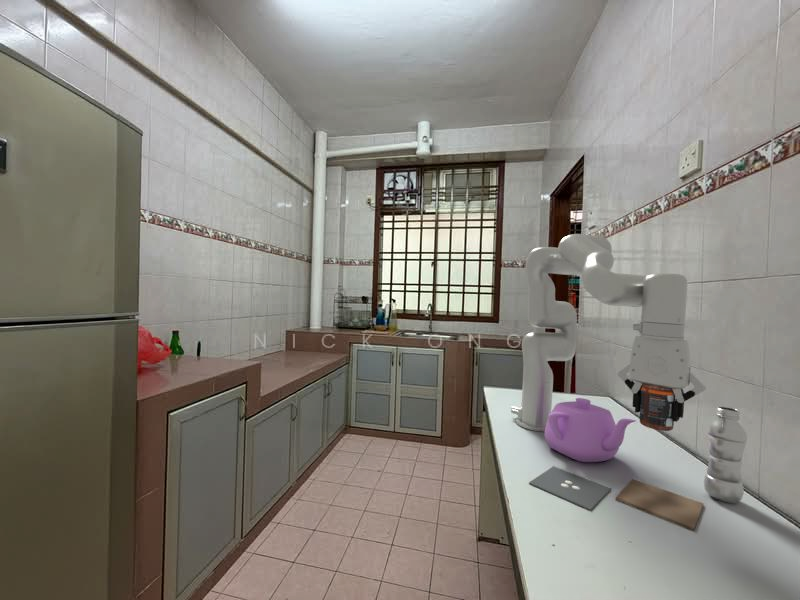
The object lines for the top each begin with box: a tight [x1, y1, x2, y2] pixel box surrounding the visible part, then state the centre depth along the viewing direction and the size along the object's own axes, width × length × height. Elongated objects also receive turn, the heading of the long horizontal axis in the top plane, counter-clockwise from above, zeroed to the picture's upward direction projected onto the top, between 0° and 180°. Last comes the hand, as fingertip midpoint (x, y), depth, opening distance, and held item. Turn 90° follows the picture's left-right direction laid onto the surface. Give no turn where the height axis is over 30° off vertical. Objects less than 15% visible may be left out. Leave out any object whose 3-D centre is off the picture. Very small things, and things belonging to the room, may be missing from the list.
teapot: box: [544, 397, 637, 463], centre depth 96 cm, size 23×21×15 cm
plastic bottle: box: [703, 406, 748, 504], centre depth 79 cm, size 6×7×20 cm
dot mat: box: [528, 465, 612, 511], centre depth 80 cm, size 13×13×1 cm
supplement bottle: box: [639, 383, 676, 432], centre depth 76 cm, size 6×6×11 cm
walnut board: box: [615, 478, 704, 531], centre depth 76 cm, size 13×13×1 cm
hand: (656, 414), depth 76 cm, fingers closed on supplement bottle, 6 cm apart
